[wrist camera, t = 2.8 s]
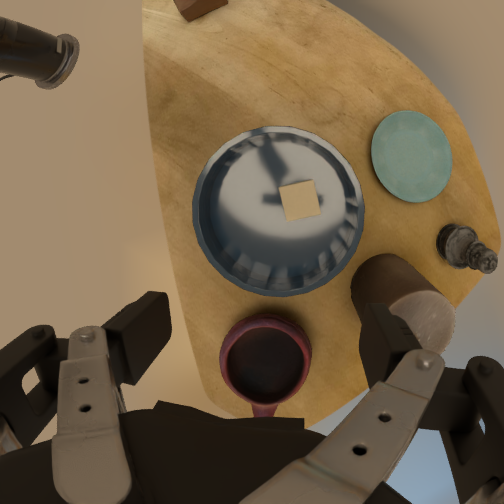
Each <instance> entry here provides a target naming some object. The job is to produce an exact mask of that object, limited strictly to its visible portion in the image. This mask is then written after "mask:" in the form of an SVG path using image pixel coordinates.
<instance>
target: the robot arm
mask: <svg viewBox="0 0 504 504" xmlns="http://www.w3.org/2000/svg"><path fill="white" fill-rule="evenodd" d="M68 54H69V44H68V42H67V41H66V40H64V39H62V38H58V37H56V36H53V35H51V34H48V33H46V32H43V31H41V30H38V29H35V28H33V27H30V26H27V25H24V24H22V23H19V22H16V21H13V20H10V19H6V18H3V17H0V73H5V74H9V75H6V76H3V77H2V78H0V81H1V80H3V79H5V78H8V77H12V76H20V77H25V78H29V79H34V80H38V81H41V82H48V81H50V80H52V79H53V78H55V77H56V76H57V75H58V74H59V72H60V71H61V70H62V68H63V66H64V65H65V63H66V60H67V58H68ZM171 333H172V324H171V316H170V309H169V300H168V296H167V294H166V293H165V292H155V291H148V292H147V293H145V294H144V295H143V296H142V297H141V298H139V299H138V300H137V301H135V302H133V303H131V304H128V305H127V306H125V307H124V308H123V309H122V310H121V312H120V311H119V312H118V313H117V314H116V315H115V316H113V317H112V318H111V319H110V320H108V321H107V322H106V323H105V324H103V325H102V326H101V327H99V326H86V327H82V328H79V329H77V330H75V331H74V332H72V334H71V335H70V338H69V339H65V338H56V335H55V331H54V329H53V327H52V326H50V325H38V326H35V327H31V328H29V329H28V330H26V331H25V332H24V333H22V334H21V335H20V336H18V337H17V338H16V339H14V340H13V341H12V342H10V343H9V344H7V345H6V346H5V347H4V348H3V349H1V350H0V504H412V503H411V502H409V501H408V500H407V499H405V498H404V497H403V496H402V495H400V494H399V493H398V492H397V491H395V490H394V489H393V488H392V487H390V486H389V485H388V484H387V483H386V481H387V480H388V478H389V477H390V475H391V474H392V472H393V471H394V469H395V467H396V466H397V464H398V463H399V461H400V459H401V458H402V456H403V455H404V453H405V451H406V450H407V448H408V446H409V444H410V443H411V441H412V439H413V438H414V436H415V434H416V432H417V430H418V428H420V429H429V430H439V432H440V434H441V438H442V441H443V444H444V447H445V450H446V454H447V457H448V461H449V464H450V467H451V471H452V475H453V478H454V482H455V486H456V490H457V494H458V498H459V503H460V504H504V369H503V367H502V366H501V365H500V364H499V363H498V362H497V361H496V360H494V359H492V358H489V357H485V356H476V357H473V358H471V359H470V360H469V361H468V364H467V366H466V369H456V368H448V367H445V362H444V359H443V358H442V357H441V356H440V355H439V354H437V353H435V352H433V351H430V350H425V349H423V348H422V346H421V345H420V343H419V342H418V340H417V338H416V337H415V335H413V332H412V330H411V329H410V327H409V326H408V324H407V323H406V321H405V320H403V319H402V318H400V317H399V316H397V315H392V314H391V312H390V310H389V309H388V307H387V306H386V304H385V303H366V305H365V309H364V315H363V321H362V327H361V333H360V339H359V353H360V357H361V360H362V364H363V367H364V371H365V374H366V378H367V382H368V385H369V389H370V391H369V392H368V393H367V394H366V395H365V396H364V398H363V399H362V400H361V401H360V402H359V403H358V405H357V406H356V407H355V408H354V409H353V410H352V411H351V412H350V413H349V414H348V415H347V416H346V418H345V419H344V420H343V421H342V422H341V423H340V424H339V425H338V426H337V427H336V428H335V429H334V430H333V431H332V432H331V433H330V434H329V435H328V436H325V435H322V434H320V433H317V432H314V431H311V430H307V429H304V418H284V417H269V416H265V417H253V418H240V419H223V418H220V417H218V416H215V415H212V414H209V413H206V412H203V411H201V410H198V409H196V408H193V407H190V406H184V405H179V404H174V403H169V402H164V401H160V400H158V402H157V403H156V405H155V406H154V408H153V409H141V410H134V411H130V412H127V410H126V406H125V402H124V398H123V394H122V390H121V388H120V385H121V383H126V384H129V385H136V383H137V382H138V381H139V379H140V378H141V377H142V375H143V374H144V373H145V371H146V370H147V369H148V367H149V366H150V365H151V363H152V362H153V361H154V359H155V358H156V357H157V356H158V354H159V353H160V352H161V350H162V349H163V348H164V346H165V345H166V344H167V342H168V341H169V340H170V337H171ZM33 367H34V368H35V370H36V373H37V375H38V378H39V380H40V382H39V383H38V384H37V385H36V386H35V387H34V388H33V389H32V390H31V391H30V392H29V393H28V394H27V395H26V394H25V392H24V390H23V388H22V379H23V377H24V375H25V374H26V373H27V372H28V371H29V370H31V369H32V368H33ZM56 413H57V434H56V435H54V436H53V438H52V439H50V440H48V441H44V442H41V443H38V444H35V445H31V444H32V443H33V442H34V440H35V439H36V438H37V437H38V435H39V434H40V433H41V432H42V430H43V429H44V427H46V425H47V424H48V423H49V422H50V421H51V419H52V418H53V417H54V416H55V414H56ZM481 418H482V419H483V422H484V424H485V435H484V433H483V431H482V429H481V426H480V424H479V421H480V419H481ZM30 445H31V446H30Z"/></svg>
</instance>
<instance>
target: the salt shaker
mask: <svg viewBox="0 0 504 504" xmlns="http://www.w3.org/2000/svg"><path fill="white" fill-rule="evenodd" d="M436 246H437V250H438V253H439V254H440V256H441V257H442V258H444V259H446V260H447V261H448V263H449V264H450V265H451V266H452V267H454V268H456V269H464V268H466V267H468V266H469V267H470V268H471V269H474V270H476V269H478V270H480V271H481V272H483V273H485V274H490V273H492V272H493V271H494V270H495V269H496V267H497V263H498V259H497V255H496V253H495V252H494V251H493V250H491V249H488V248H486V246H485V244H484V243H483V242H481V241H479V240H478V237H477V234H476V232H475V231H474V230H473V229H472V228H470V227H468V226H459V225H457V224H448V225H446V226H445V227H443V228H442V230H441V231H440V232H439V234H438V237H437V244H436Z"/></svg>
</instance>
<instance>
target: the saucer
mask: <svg viewBox="0 0 504 504" xmlns="http://www.w3.org/2000/svg"><path fill="white" fill-rule="evenodd" d="M371 156H372V162H373V166H374V169H375V172H376V174H377V176H378V178H379V180H380V181H381V183H382V184H383V185H384V186H385V188H386V189H387V190H388V191H389V192H391V193H392V194H393V195H395V196H396V197H398V198H400V199H402V200H404V201H407V202H414V203H419V202H425V201H428V200H431V199H433V198H434V197H436V196H437V195H438V194H439V193H440V192H441V191H442V190H443V189H444V188H445V186H446V185H447V182H448V181H449V178H450V175H451V171H452V152H451V148H450V145H449V142H448V140H447V137H446V136H445V134H444V132H443V131H442V129H441V128H440V127H439V126H438V125H437V124H436V123H435V122H434V121H433V120H432V119H430V118H429V117H428V116H426V115H424V114H422V113H419V112H416V111H409V110H405V111H398V112H394V113H392V114H391V115H389V116H387V117H386V118H385V119H384V120H383V121H382V122H381V123H380V124H379V126H378V127H377V129H376V131H375V133H374V135H373V139H372V145H371Z"/></svg>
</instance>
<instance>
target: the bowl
mask: <svg viewBox="0 0 504 504" xmlns="http://www.w3.org/2000/svg"><path fill="white" fill-rule="evenodd" d="M311 358H312V348H311V344H310V341H309V339H308V337H307V335H306V333H305V332H304V330H303V329H302V328H301V327H300V326H299V325H298V324H297V323H296V322H295V321H293V320H291V319H289V318H287V317H283V316H280V315H276V314H268V313H262V314H257V315H252V316H250V317H247V318H245V319H243V320H241V321H239V322H238V323H237V324H235V325H234V326H233V327H232V328H231V330H230V331H229V332H228V334H227V335H226V337H225V339H224V341H223V344H222V346H221V350H220V356H219V362H220V369H221V374H222V377H223V379H224V381H225V383H226V384H227V386H228V387H229V388H230V389H231V390H232V391H233V392H234V393H235V394H236V395H237V396H239V397H240V398H242V399H244V400H245V401H247V402H249V403H251V404H252V410H253V414H254V417H265V416H269V417H273V416H274V413H275V411H276V409H277V406H278V404H280V403H282V402H285V401H286V400H288V399H290V398H291V397H292V396H293V395H295V394H296V393H297V392H298V391H299V389H300V388H301V386H302V385H303V384H304V382H305V380H306V378H307V375H308V373H309V368H310V364H311Z"/></svg>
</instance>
